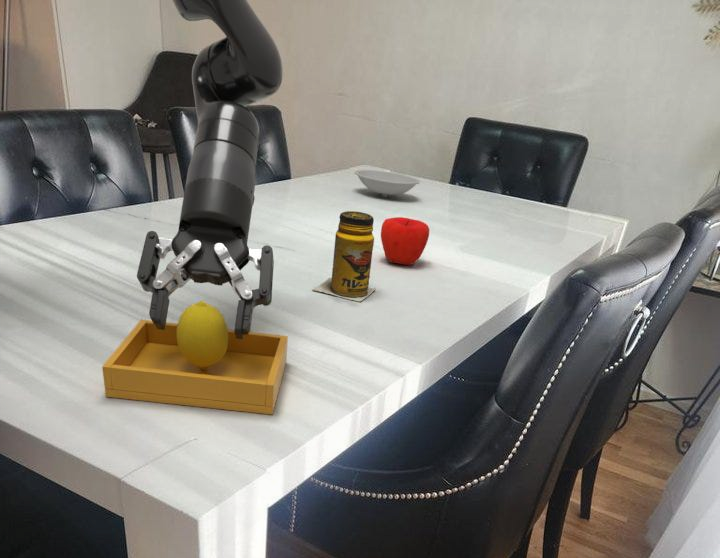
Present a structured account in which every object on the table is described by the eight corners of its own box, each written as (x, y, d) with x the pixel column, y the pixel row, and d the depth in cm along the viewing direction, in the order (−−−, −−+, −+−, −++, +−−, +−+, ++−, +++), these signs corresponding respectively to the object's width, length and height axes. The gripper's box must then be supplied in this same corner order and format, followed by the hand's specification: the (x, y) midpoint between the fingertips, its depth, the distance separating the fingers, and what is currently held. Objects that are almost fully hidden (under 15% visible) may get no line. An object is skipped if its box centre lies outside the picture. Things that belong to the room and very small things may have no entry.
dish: (344, 194, 170) (346, 173, 167) (362, 186, 181) (364, 167, 179) (409, 206, 166) (412, 186, 163) (422, 198, 178) (425, 178, 175)
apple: (383, 269, 118) (389, 224, 114) (372, 254, 125) (377, 212, 121) (429, 271, 120) (437, 227, 116) (416, 257, 127) (423, 215, 123)
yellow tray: (105, 397, 68) (102, 366, 66) (143, 346, 79) (141, 319, 77) (272, 414, 69) (273, 385, 67) (286, 362, 80) (287, 335, 78)
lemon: (228, 360, 77) (227, 294, 72) (228, 381, 72) (228, 312, 68) (179, 358, 75) (176, 291, 71) (176, 379, 71) (173, 309, 66)
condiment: (360, 302, 102) (369, 223, 95) (311, 290, 104) (317, 212, 97) (376, 290, 107) (385, 214, 101) (329, 279, 109) (335, 204, 103)
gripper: (146, 167, 69) (122, 308, 66) (280, 184, 69) (262, 325, 66) (162, 209, 76) (141, 338, 73) (283, 224, 77) (267, 352, 74)
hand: (199, 331), depth 70 cm, fingers open, 8 cm apart
